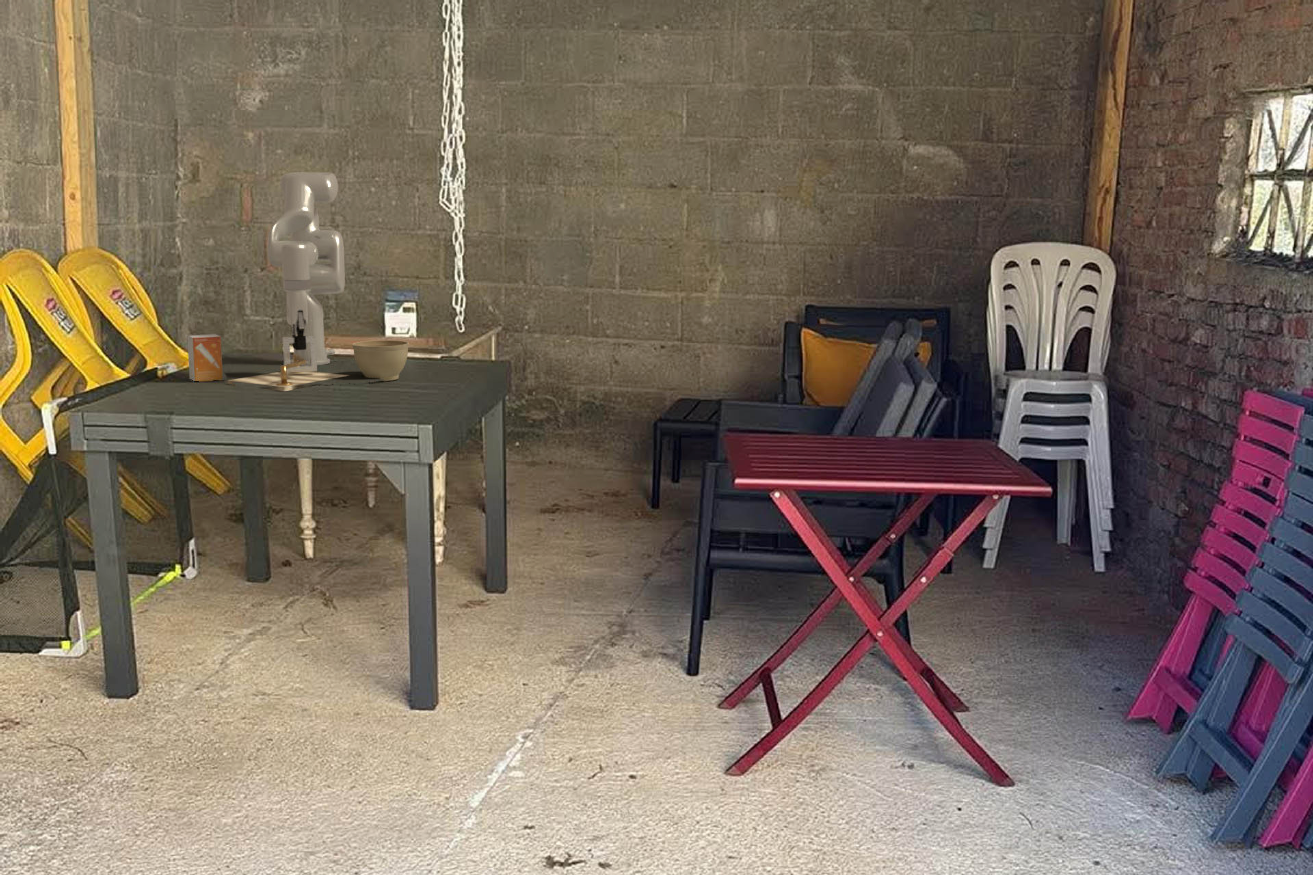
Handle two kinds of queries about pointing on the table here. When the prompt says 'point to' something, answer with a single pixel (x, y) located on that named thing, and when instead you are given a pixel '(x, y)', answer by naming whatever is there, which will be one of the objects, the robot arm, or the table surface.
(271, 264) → the robot arm
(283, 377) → the brass faucet
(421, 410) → the table surface
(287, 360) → the white square frame
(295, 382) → the base board
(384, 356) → the planter bowl
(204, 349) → the small box
